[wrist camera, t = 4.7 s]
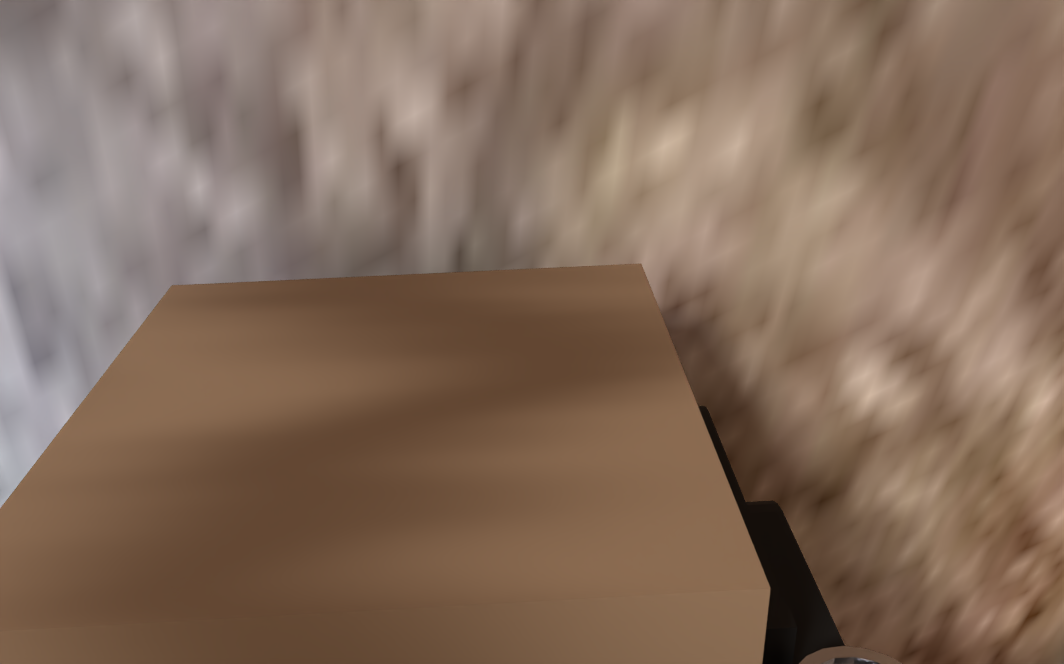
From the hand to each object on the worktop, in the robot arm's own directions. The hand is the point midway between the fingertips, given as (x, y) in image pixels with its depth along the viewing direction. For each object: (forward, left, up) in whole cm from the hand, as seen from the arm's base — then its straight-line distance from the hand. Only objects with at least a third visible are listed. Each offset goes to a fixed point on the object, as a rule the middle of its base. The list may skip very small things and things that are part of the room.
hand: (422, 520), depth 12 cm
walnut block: (0, 0, -1) cm, 1 cm away
